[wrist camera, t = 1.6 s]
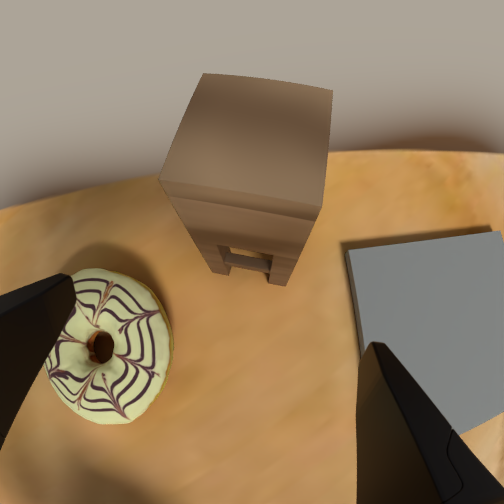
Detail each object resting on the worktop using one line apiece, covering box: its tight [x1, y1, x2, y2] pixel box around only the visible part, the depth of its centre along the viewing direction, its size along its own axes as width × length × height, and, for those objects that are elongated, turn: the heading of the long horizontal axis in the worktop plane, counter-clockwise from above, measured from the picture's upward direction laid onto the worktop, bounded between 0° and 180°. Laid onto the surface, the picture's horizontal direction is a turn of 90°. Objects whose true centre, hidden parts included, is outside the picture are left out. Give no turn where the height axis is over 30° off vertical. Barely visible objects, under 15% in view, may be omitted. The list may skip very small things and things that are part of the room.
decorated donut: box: [44, 268, 174, 424], centre depth 19 cm, size 10×11×4 cm
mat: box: [345, 231, 504, 435], centre depth 20 cm, size 16×16×1 cm
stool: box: [158, 73, 333, 286], centre depth 16 cm, size 5×5×13 cm
